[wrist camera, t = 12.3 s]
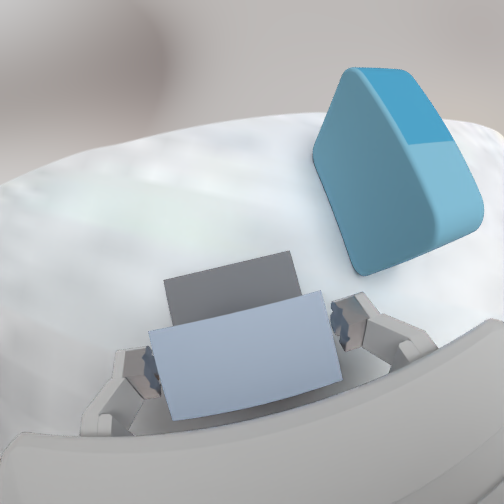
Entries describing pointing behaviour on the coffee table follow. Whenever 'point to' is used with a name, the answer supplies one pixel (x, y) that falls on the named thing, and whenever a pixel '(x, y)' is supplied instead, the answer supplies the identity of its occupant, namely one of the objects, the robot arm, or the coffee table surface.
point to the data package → (392, 171)
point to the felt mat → (232, 288)
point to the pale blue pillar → (246, 357)
